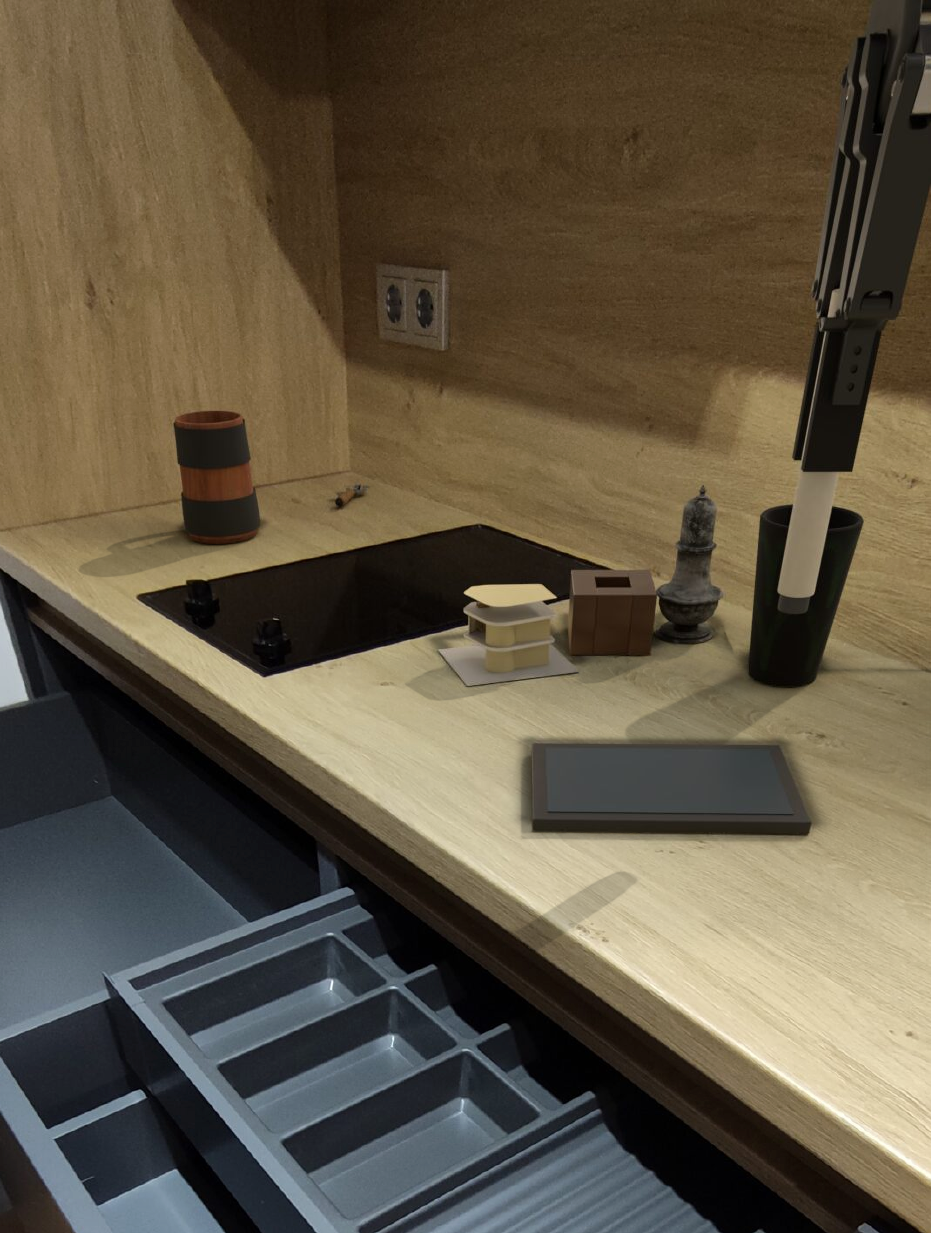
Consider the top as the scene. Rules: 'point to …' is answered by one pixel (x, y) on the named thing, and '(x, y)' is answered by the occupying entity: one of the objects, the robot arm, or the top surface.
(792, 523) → the stylus
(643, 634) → the holder
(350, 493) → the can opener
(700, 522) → the salt shaker
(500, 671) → the stacked layers on plate
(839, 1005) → the top surface
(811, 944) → the top surface
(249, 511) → the mug
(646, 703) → the top surface
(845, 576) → the cup
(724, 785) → the tablet
